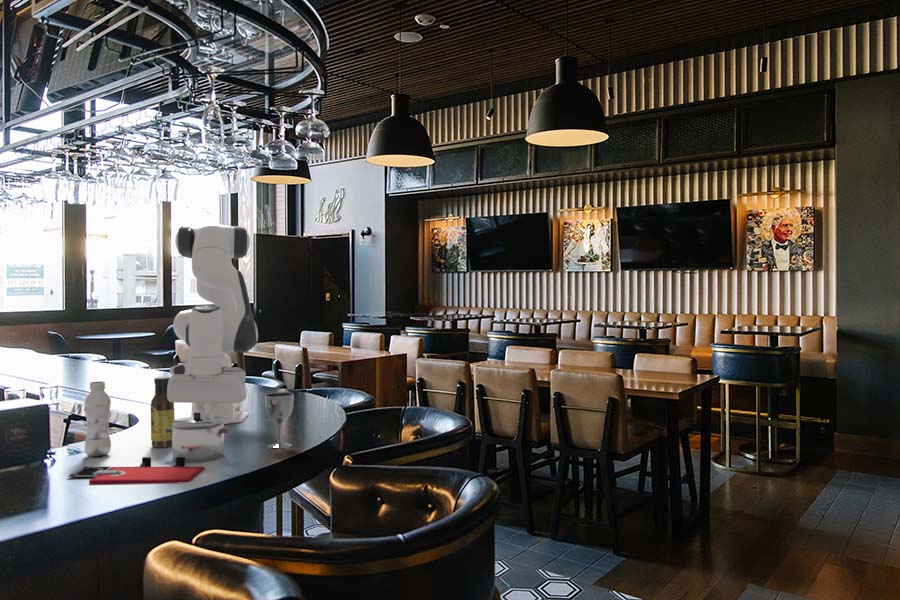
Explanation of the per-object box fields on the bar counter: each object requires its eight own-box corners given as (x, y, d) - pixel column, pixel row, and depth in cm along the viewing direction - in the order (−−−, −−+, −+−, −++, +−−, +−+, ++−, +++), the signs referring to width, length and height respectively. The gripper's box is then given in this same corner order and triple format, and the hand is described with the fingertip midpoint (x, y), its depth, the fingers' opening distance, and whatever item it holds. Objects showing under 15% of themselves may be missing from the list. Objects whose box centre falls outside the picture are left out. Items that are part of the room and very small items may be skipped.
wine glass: (286, 450, 183) (286, 396, 183) (260, 448, 185) (259, 395, 185) (298, 443, 191) (298, 392, 191) (273, 442, 193) (272, 391, 193)
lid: (185, 419, 183) (185, 408, 183) (231, 419, 182) (231, 408, 182) (162, 428, 170) (162, 416, 170) (211, 428, 169) (211, 416, 169)
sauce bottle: (154, 444, 192) (154, 376, 191) (177, 443, 193) (176, 375, 192) (148, 449, 185) (147, 378, 185) (171, 448, 186) (171, 378, 186)
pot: (181, 449, 184) (181, 419, 184) (239, 450, 183) (239, 420, 183) (156, 462, 170) (155, 429, 170) (219, 463, 169) (218, 430, 169)
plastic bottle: (106, 451, 182) (106, 380, 182) (114, 455, 177) (114, 382, 177) (81, 455, 178) (80, 382, 178) (88, 460, 173) (88, 384, 173)
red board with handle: (88, 468, 165) (55, 486, 150) (88, 457, 165) (55, 474, 150) (209, 467, 167) (188, 486, 152) (209, 457, 167) (188, 474, 152)
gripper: (249, 365, 175) (250, 417, 175) (175, 365, 176) (175, 416, 176) (241, 368, 168) (241, 422, 169) (163, 368, 170) (164, 421, 170)
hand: (207, 419), depth 172 cm, fingers closed
